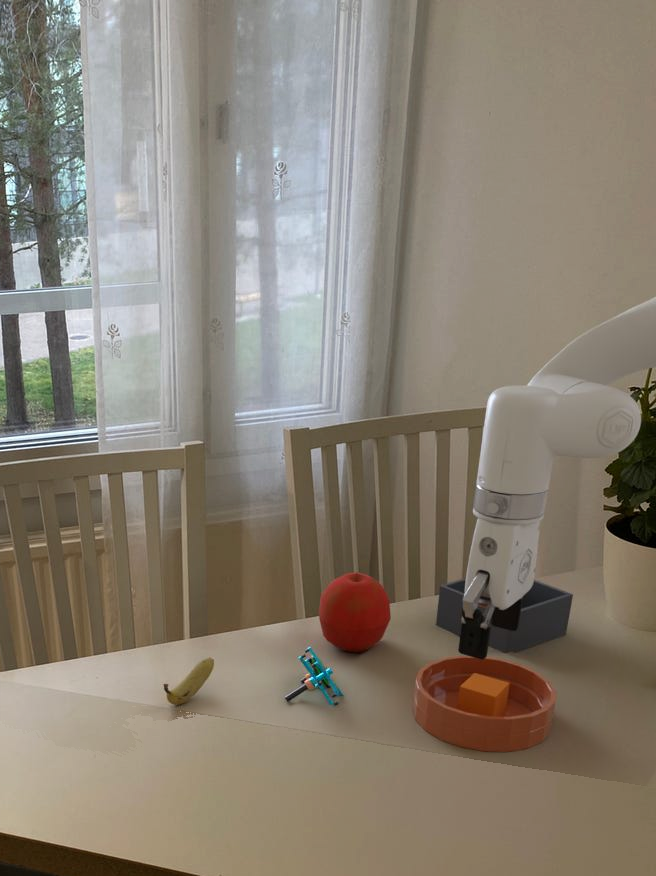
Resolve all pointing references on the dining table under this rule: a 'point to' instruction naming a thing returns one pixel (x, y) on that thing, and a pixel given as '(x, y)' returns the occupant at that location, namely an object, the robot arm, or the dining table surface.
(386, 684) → the dining table surface
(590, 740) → the dining table surface
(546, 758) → the dining table surface
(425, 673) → the bowl
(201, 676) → the banana
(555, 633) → the bin
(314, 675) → the teal plastic assembly
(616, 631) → the dining table surface
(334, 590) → the apple
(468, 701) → the block
